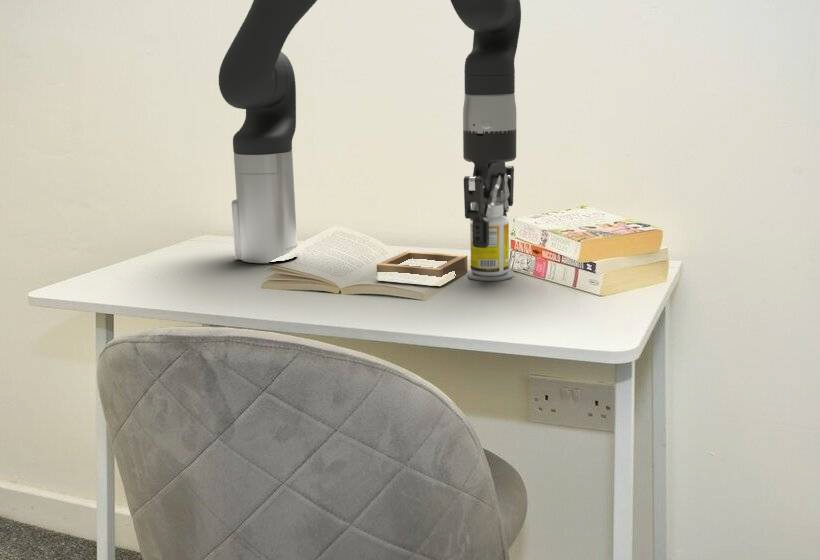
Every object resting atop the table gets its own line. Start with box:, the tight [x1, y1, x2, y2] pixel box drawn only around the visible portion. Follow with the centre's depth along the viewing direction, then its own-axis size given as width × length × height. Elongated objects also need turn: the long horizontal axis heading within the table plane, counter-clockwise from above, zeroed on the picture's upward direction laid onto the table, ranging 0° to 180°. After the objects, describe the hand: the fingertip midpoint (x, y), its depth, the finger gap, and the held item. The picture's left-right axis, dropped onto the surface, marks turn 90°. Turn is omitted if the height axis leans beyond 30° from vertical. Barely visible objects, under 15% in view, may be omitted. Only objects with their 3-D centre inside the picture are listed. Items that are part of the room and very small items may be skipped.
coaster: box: [465, 269, 515, 282], centre depth 140 cm, size 7×7×1 cm
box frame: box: [376, 250, 469, 279], centre depth 140 cm, size 10×10×2 cm
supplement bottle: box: [469, 202, 510, 276], centre depth 139 cm, size 6×6×10 cm
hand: (489, 242), depth 139 cm, fingers open, 6 cm apart
